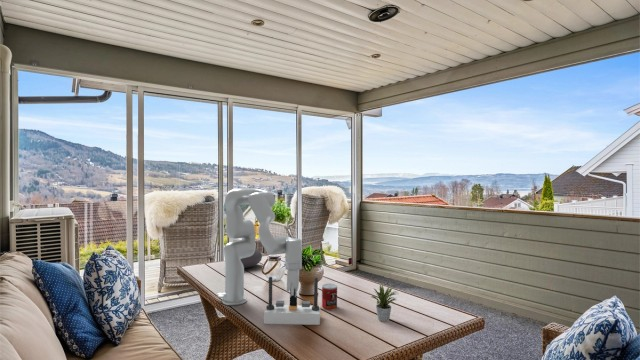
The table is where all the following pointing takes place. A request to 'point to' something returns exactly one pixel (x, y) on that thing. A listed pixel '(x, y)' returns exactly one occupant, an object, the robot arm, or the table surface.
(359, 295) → the table surface
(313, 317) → the strip
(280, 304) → the left button
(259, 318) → the table surface
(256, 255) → the flattened ellipsoid
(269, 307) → the left cord
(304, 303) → the right button
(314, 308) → the right cord
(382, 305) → the house plant
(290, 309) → the middle button
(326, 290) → the canned food
